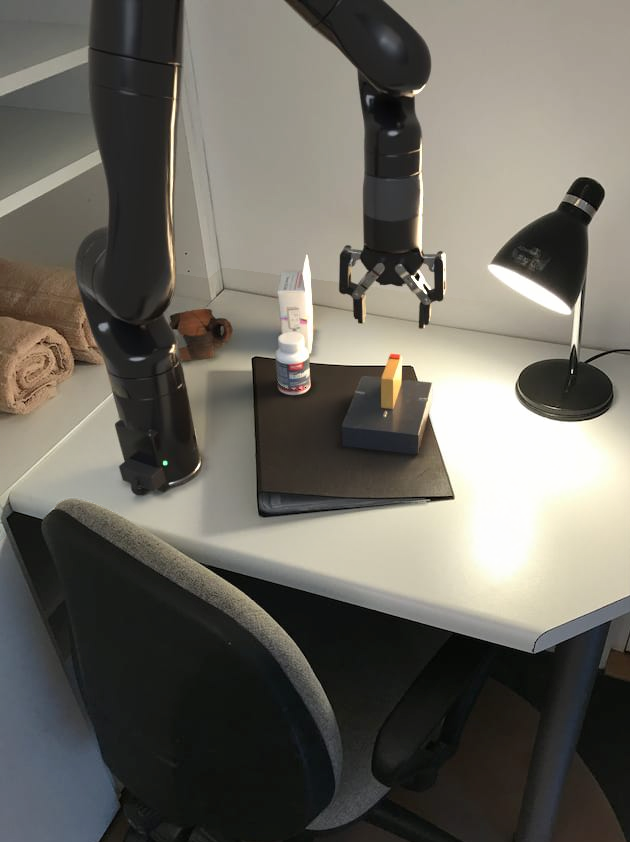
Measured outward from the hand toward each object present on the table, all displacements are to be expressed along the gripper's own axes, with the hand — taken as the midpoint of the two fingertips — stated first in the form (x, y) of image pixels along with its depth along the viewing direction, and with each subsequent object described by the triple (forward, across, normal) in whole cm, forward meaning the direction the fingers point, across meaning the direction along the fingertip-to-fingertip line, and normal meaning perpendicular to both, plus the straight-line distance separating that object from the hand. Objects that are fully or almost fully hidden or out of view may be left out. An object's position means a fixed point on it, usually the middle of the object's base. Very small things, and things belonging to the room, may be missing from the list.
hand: (392, 323), depth 105 cm
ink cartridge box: (+16, -20, +19) cm, 32 cm away
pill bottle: (+15, -17, +5) cm, 23 cm away
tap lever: (+12, 0, 0) cm, 12 cm away
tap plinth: (+15, 0, -2) cm, 15 cm away
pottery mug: (+15, -36, +14) cm, 42 cm away
